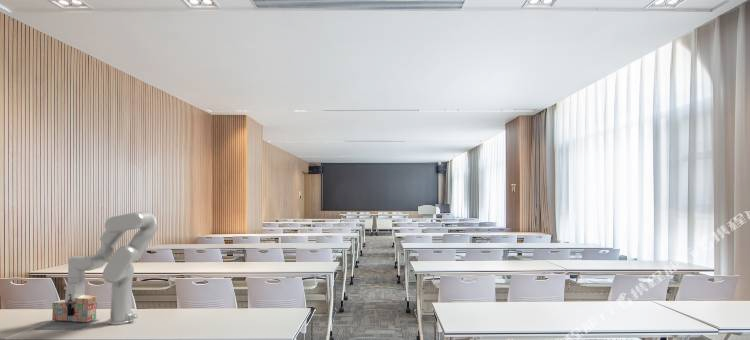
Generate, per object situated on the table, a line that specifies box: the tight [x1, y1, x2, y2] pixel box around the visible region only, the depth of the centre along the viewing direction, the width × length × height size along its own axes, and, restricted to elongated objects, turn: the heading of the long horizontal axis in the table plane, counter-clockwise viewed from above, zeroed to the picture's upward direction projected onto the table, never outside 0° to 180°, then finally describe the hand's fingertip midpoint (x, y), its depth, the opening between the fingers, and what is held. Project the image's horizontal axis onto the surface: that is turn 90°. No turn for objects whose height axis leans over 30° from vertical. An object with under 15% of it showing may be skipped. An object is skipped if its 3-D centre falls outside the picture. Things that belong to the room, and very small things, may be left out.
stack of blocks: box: [51, 294, 98, 322], centre depth 240 cm, size 21×6×12 cm, turn 80°
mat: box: [34, 319, 99, 331], centre depth 234 cm, size 22×16×1 cm
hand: (75, 313), depth 240 cm, fingers closed on stack of blocks, 6 cm apart
